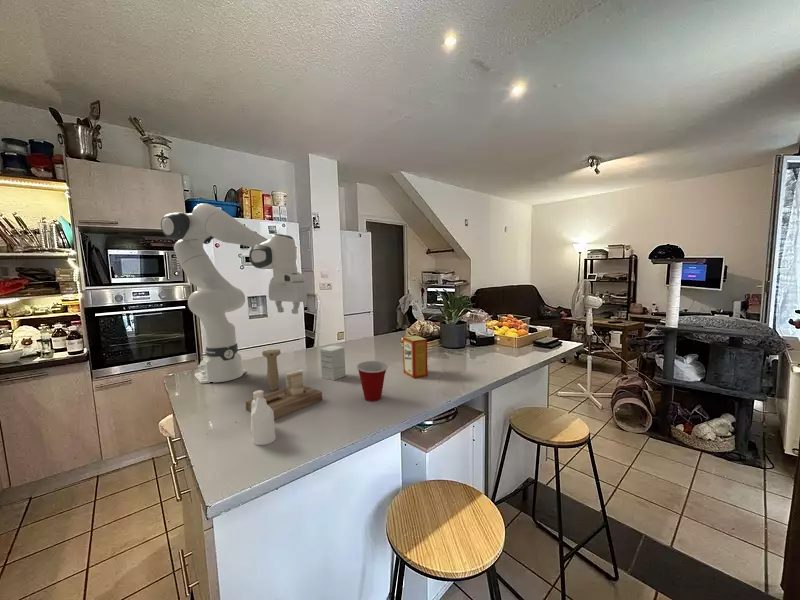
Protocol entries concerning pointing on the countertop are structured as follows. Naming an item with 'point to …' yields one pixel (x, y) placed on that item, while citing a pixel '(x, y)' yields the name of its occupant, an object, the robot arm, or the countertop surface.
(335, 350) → the mini drawer cabinet
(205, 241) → the robot arm
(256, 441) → the white sloped-shoulder bottle
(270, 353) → the handle
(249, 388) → the countertop surface
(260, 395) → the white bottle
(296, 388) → the maple peg
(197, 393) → the countertop surface
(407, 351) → the baking soda box
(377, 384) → the plastic cup
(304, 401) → the socket block
